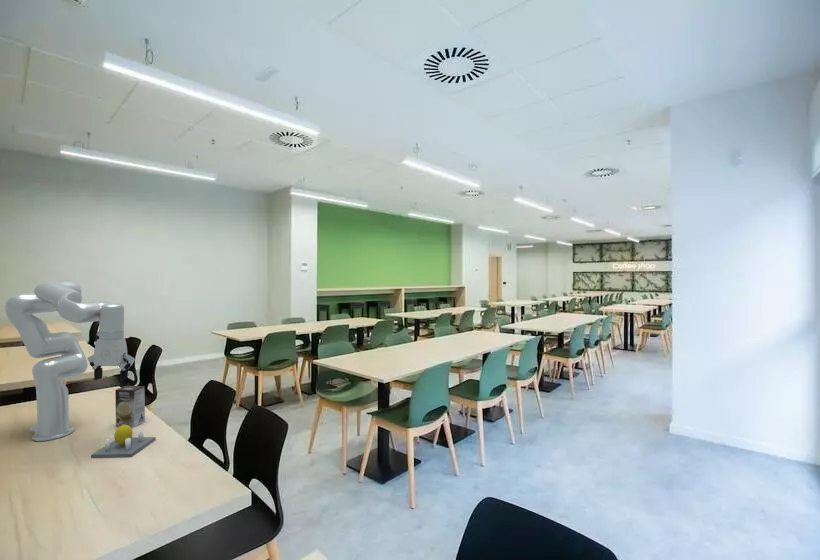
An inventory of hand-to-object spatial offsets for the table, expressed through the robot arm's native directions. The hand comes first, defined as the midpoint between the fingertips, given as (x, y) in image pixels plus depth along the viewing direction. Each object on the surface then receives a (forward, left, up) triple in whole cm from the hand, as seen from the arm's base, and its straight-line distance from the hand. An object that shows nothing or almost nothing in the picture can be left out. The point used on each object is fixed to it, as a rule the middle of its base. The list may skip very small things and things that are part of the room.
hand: (111, 379), depth 149 cm
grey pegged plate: (+8, -5, -25) cm, 27 cm away
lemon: (+8, -5, -24) cm, 26 cm away
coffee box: (-6, +19, -25) cm, 32 cm away
